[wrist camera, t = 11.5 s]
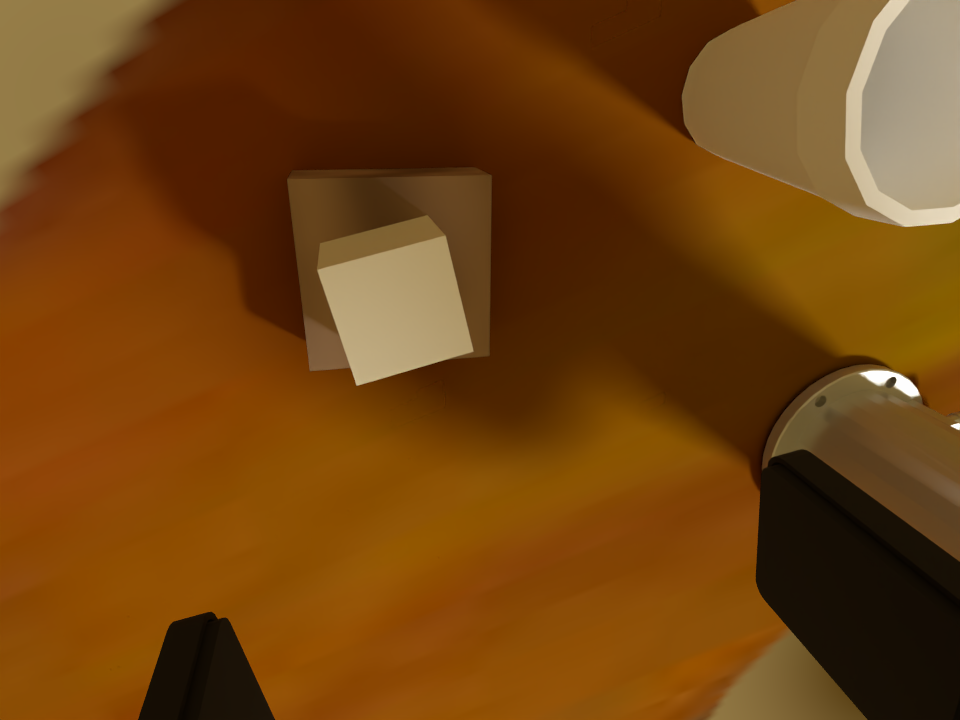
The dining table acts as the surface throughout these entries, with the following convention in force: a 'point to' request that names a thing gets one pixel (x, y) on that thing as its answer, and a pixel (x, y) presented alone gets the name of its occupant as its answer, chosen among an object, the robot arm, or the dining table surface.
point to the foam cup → (840, 104)
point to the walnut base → (381, 202)
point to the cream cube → (394, 298)
